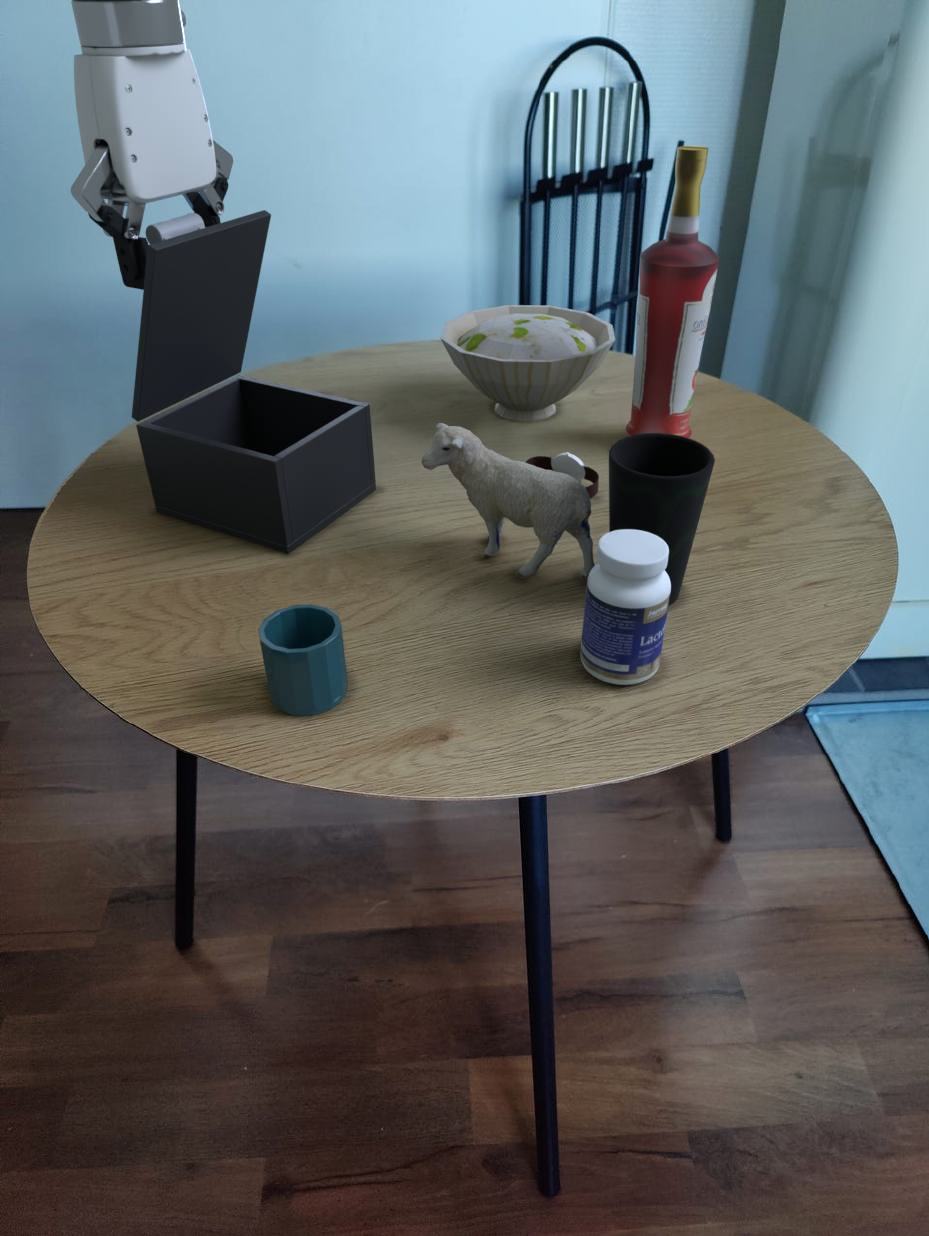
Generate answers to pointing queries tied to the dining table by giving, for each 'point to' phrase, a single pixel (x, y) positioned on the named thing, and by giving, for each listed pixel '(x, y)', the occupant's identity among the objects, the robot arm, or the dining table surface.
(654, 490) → the cup
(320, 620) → the creamer cup
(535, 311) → the bowl
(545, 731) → the dining table surface
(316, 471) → the dark gray hinged chest
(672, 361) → the liquor
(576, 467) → the watch
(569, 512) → the figurine
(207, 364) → the chest lid
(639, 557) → the pill bottle
